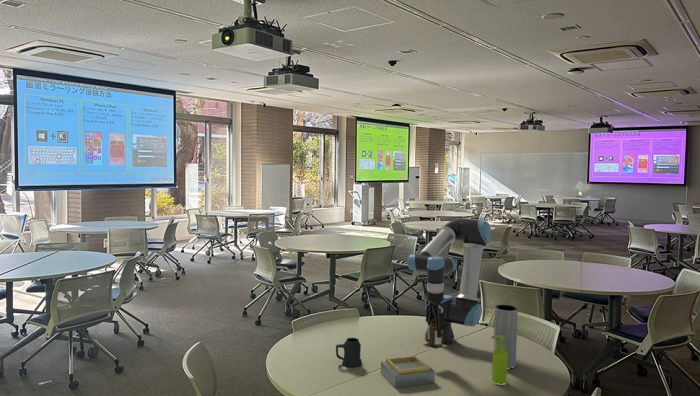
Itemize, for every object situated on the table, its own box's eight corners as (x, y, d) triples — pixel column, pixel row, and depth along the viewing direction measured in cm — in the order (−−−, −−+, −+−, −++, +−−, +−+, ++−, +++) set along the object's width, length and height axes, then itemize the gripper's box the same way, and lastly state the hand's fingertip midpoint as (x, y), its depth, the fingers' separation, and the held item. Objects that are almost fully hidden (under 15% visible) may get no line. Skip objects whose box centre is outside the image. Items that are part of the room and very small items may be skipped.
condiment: (446, 346, 238) (447, 320, 237) (432, 350, 234) (433, 323, 233) (435, 341, 245) (436, 316, 244) (421, 345, 240) (422, 319, 239)
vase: (502, 371, 235) (504, 311, 233) (488, 363, 244) (490, 305, 243) (520, 368, 239) (522, 309, 237) (505, 360, 248) (507, 303, 247)
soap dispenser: (487, 380, 225) (489, 333, 224) (503, 379, 225) (504, 333, 224) (492, 385, 219) (494, 338, 218) (508, 385, 219) (510, 338, 218)
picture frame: (415, 366, 239) (415, 352, 238) (434, 382, 221) (435, 367, 220) (378, 370, 233) (378, 355, 233) (394, 387, 215) (395, 372, 215)
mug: (362, 360, 245) (362, 336, 244) (362, 367, 236) (362, 343, 235) (336, 359, 245) (336, 335, 244) (335, 367, 236) (335, 342, 235)
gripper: (418, 286, 245) (417, 335, 247) (437, 297, 227) (436, 349, 229) (433, 285, 247) (432, 333, 249) (453, 296, 229) (452, 347, 231)
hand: (434, 341), depth 239 cm, fingers closed on condiment, 6 cm apart
